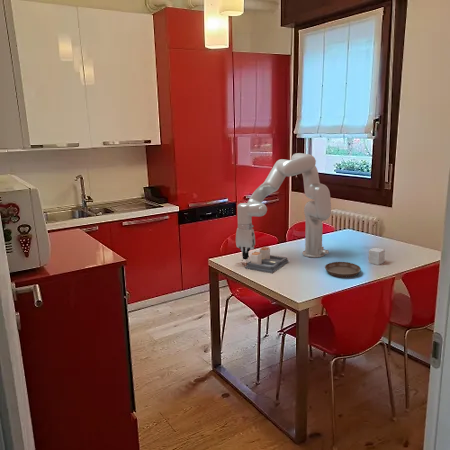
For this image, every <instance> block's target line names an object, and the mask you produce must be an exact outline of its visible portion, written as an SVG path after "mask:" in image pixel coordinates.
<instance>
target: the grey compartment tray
mask: <svg viewBox="0 0 450 450" xmlns="http://www.w3.org/2000/svg"><path fill="white" fill-rule="evenodd" d="M287 264H289V259H288V257H284V256H277V255H271V254H270V259H265V258H262V264H260V265H259V264H254V263H251V260H249V261H248V262H246V265H245V267H244V268H245V269H246V270H252V271H256V272H262V273H268V274H274V273H275V272H277V270H279V269H281V268H282V267H284V266H285V265H287Z"/></svg>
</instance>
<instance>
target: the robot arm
mask: <svg viewBox="0 0 450 450" xmlns="http://www.w3.org/2000/svg"><path fill="white" fill-rule="evenodd" d="M316 162H317V160H316V158H315V157H314V156H313V155H312V154H309V153H301V152H298V153H293V154H292V155H291V157H290V159H283V158H281V159H278V160H276V162H275V163H274V164H273V167H272V168H271V169H270V171H269V173H268V175H267V177H266V178H265V180H264V182H263V183H261V184H260V185H258V187H257V188H256V189H255V190H254V191H253V193H252V194H251V196H250V197H249V199H248V200H247V202H242V203H241V202H240V203H238V204H237V205H236V208H237V228H236V232H235V245H236V248H238V249H240V251H241V256H242V260H247V259H249V254H250V253H249V252H250V251H253V250H255V246H256V235H255V229H254V227H255V226H254V224H253V222H252V220H253V219H252V217H259V218H260V217H263V216H265V215H266V214H267V211H268V207H267V206H266V204H265V203H263V201H264V200H265V198H266V197H267V196H269V195H271V194H272V193H275V192H277V191H278V190H279V189H280V187H281V185H282V184H283V182H284V181H285V178H286V177H293V176H298V175H301V174H302V179H303V189H304V195H305V197H306V198H308V199H310V200H309V201H308V202H306V203H305V205H304V208H303V214H304V219H305V231H304V232H305V236H304V238H305V241H304V243H305V244H304V246H305V248H304V249H305V250H303V251H302V256H304V257H307V258H313V259H314V258H316V259H317V258H323V257H324V256H325V254H326V255H329V254H330V253H329V249H325V248H324V246H323V229H324V228H323V222H324V221H327V220H329V218H330V217H331V214H332V202H331V193H330V189H329V188H328V186H327V185H326V184H323V183H321V181H320V178H319V177H320V176H319V171H318V168H317V166H316Z"/></svg>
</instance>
